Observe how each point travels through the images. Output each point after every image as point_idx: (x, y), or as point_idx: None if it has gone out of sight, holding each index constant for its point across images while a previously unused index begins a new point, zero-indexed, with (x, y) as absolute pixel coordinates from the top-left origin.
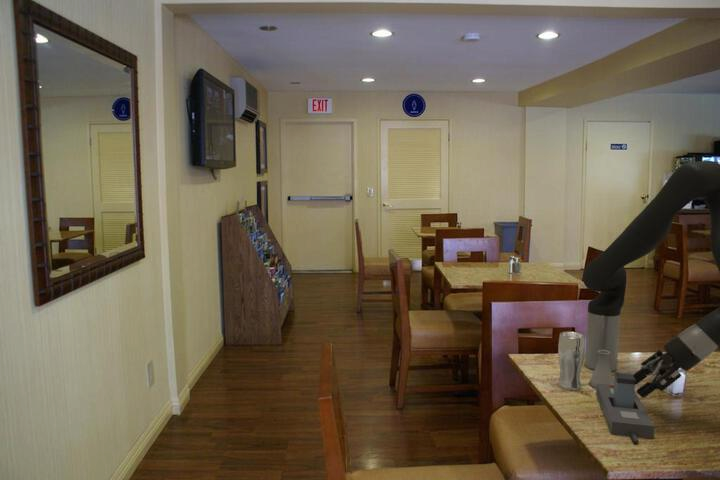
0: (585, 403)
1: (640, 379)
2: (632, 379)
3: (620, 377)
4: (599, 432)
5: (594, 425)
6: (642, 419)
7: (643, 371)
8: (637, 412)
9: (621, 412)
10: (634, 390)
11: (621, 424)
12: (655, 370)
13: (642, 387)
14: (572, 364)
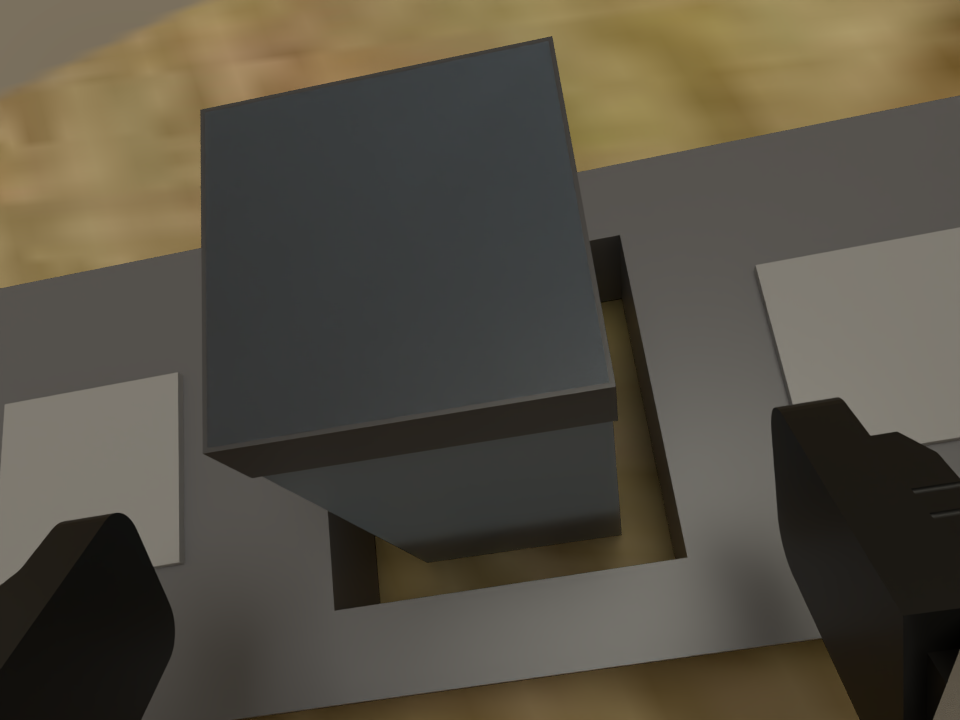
0: (654, 92)
1: (827, 629)
2: (215, 386)
3: (269, 155)
4: (11, 261)
5: (142, 213)
6: None
7: (937, 696)
8: (218, 586)
9: (136, 392)
10: (301, 495)
11: None
12: None
13: (2, 605)
14: None
